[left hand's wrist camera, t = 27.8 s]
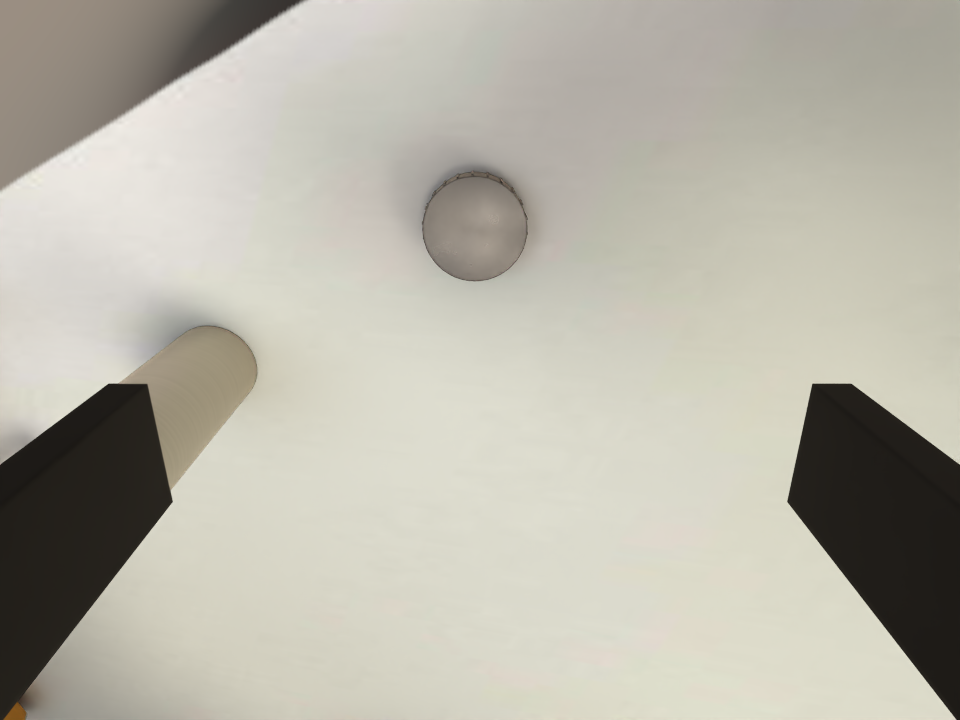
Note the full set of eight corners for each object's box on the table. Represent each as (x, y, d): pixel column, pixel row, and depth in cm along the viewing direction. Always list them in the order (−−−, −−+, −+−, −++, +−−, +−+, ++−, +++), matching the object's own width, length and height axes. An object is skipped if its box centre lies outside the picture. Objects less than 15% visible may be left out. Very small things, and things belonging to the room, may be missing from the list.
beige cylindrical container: (253, 411, 41) (133, 574, 27) (169, 395, 41) (1, 552, 26) (260, 335, 39) (134, 467, 25) (172, 317, 39) (-8, 442, 25)
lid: (466, 148, 35) (465, 151, 33) (546, 215, 37) (550, 221, 34) (404, 231, 37) (399, 238, 35) (483, 291, 38) (483, 302, 36)
